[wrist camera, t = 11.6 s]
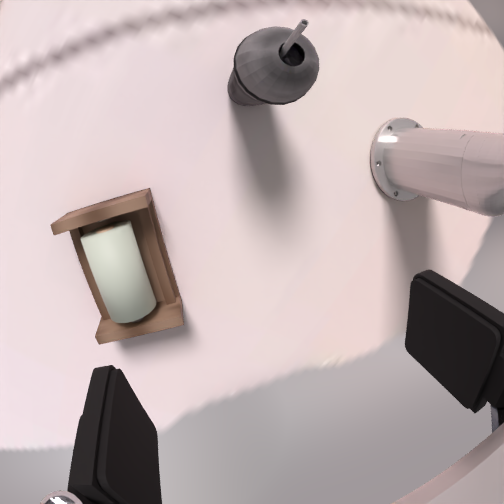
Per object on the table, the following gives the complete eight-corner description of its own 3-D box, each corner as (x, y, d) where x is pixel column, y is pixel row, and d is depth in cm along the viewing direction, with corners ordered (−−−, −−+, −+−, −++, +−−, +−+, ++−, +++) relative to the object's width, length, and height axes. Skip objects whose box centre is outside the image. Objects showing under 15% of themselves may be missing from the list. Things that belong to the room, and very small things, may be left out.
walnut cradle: (149, 188, 35) (145, 195, 29) (181, 300, 40) (183, 324, 35) (67, 213, 33) (50, 224, 27) (106, 319, 39) (98, 344, 33)
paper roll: (89, 228, 33) (72, 243, 28) (134, 215, 34) (124, 228, 29) (115, 303, 37) (106, 328, 32) (158, 293, 38) (154, 317, 32)
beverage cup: (247, 129, 35) (322, 113, 17) (202, 89, 32) (234, 27, 14) (287, 89, 35) (385, 50, 16) (244, 50, 32) (312, -27, 13)
